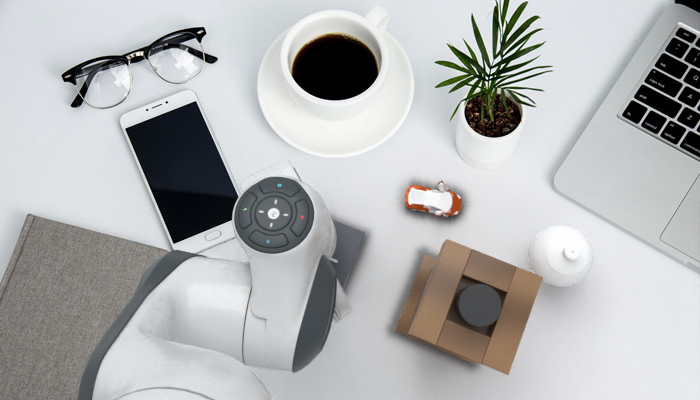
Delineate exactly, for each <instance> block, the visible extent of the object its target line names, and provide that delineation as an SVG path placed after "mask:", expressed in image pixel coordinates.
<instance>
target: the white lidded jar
mask: <svg viewBox="0 0 700 400" xmlns="http://www.w3.org/2000/svg"><path fill="white" fill-rule="evenodd" d="M528 259H529V264H530V267H531V268H532V270H533V273H534V274H537V275H539V276H542V277H543V279H542V282H544V283H546V284H548V285H551V286H554V287H560V288H561V287H570V286H574V285H576V284H578V283H580V282H581V281H583V280H584V279H585V278H586V277H587V276H588V275H589V273H590V272H591V270H592V267H593V264H594V250H593V247H592V245H591V242H590V240H589V239H588V238H587V236H586V235H585V234H584V233H583V232H581V231H580V230H579V229H577V228H575V227H573V226H570V225H565V224H564V225H563V224H556V225H550V226H548V227H546V228H544V229H542V230H540V231H539V232H538V233H537V234H536V235H535V237H534V238H533V240H532V241H531V243H530V246H529V250H528Z"/></svg>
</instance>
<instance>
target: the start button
mask: <svg viewBox="0 0 700 400" xmlns="http://www.w3.org/2000/svg"><path fill="white" fill-rule="evenodd" d="M501 308H502V304H501V299H500V297H499V295H498V293H497V292H496V291H495V290H494V289H493V288H491V287H490V286H488V285H485V284H474V285H470V286H467V287H465V288H464V289H462V290H461V291H460V292H459V293H458V295H457V297H456V300H455V311H456V314H457V316H458V317H459V318H460V320H461V321H463V322H464V323H465V324H467V325H470V326H475V327H485V326H489V325H491V324H492V323H494V322H495V321H496V320H497V319H498V317H499V315H500V313H501Z"/></svg>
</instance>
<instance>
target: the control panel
mask: <svg viewBox="0 0 700 400" xmlns="http://www.w3.org/2000/svg"><path fill="white" fill-rule="evenodd" d="M332 221H333V223H334V226H335V229H336V236H337V241H336V247H335V251H334V253H333V256H332V258H331V259H330V263H331V264H332V266H333V268H334V270H335V272H336V274H337V278H338V280H339V282H340V284H341V286H342V288H343V290H344V289H345V287H346V284H347V283H348V282H347V281H348V279H349V277H350V274H351V271H352V270H353V267H354V264H355V262H356V259H357V257H358V254H359V252H360V249H361V247H362V245H363V242H364V241H365V237H366V233H365V232H364V231H362V230H359V229H356V228H354V227H353V226H349V225H347V224H344V223H341V222H339V221H336V220H334V219H332Z"/></svg>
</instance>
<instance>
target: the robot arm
mask: <svg viewBox="0 0 700 400" xmlns="http://www.w3.org/2000/svg"><path fill="white" fill-rule="evenodd" d="M239 188H240V191H241V192H240V194H239V196H238V197H237V199H236V201H235V204H234V206H233V210H232V214H231V215H232V216H231V223H232V229H233V233H234V236H235V238H236V240H237V242H238V244H239V246H240V248H241V249H242V250H243V251H244V253H245V255H246V257H247V259H248V261H247V262H246V261H238V260H232V259H225V258H224V259H223V258H217V257H210V256H209V257H208V256H207V255H204V254H200V253H195V252H189V251H185V250H180V249H173V250H170V251H168V252H167V253H165V254H163V255H162V256H160V257H159V258H157V259H156V260H155V261H153V262H152V263H151V264H150V265H149V266H148V267H147V268H146V269H145V271H144V273H142V275H141V278H140V281H139V283H138V285H137V287H136V290H135V293H134V295H133V296H132V297H131V299H130V300H129V302H127V304H126V306H125V307H124V308H122V311H121V312H120V313H119V315H118V316H117V317H116V319H115V320H114V321H113V322H112V324H111V325H110V326H109V328H108V329H107V330H106V331H105V333H104V334H103V336H102V337H101V339H100V340H99V342H98V343H97V344H96V346H95V348H94V349H93V351H92V352H91V355H90V356H89V357H88V359H87V362H86V364H85V366H84V369H83V370H82V374H81V377H80V381H79V384H78V391H77V397H76V400H274V399H273V397H272V395H271V393H270V391H269V390H268V388H267V387H266V385H265V384H264V383H263V381H262V380H261V379H260V378H259V376H257V374H255V372H254V371H253V370H252V369H250V368H254V369H262V370H269V371H276V372H283V373H293V374H295V373H298V372H300V371H302V370H303V369H305V368H306V367H307V366H308V365H310V364H311V363H312V362H313V361H314V360H315V359H316V358H317V356H319V355H320V354H321V353H322V351H323V349H324V347H325V345H326V343H327V340H328V337H329V335H330V331H331V328H332V324H334V323H340V322H342V321H343V318H345V317H347V316H349V315H351V314H352V313H353V307H352V305H351V303H350V300H349V299H348V296H347V295H346V293H345V291H344V289H343V288H342V286H341V284H340V282H339V280H338V278H337V274H336V272H335V270H334V268H333V266H332V264H331V263H330V259H331V258H332V256H333V253H334V251H335V247H336V241H337V236H336V229H335V226H334V223H333V221H332V220H333V219H332V216H331V214H330V211H329V209H328V207H327V205H326V203H325V201H324V200H323V198H322V197H321V195H320V193H319V192H317V191H316V190H315V188H314V187H312V186H311V185H309V184H308V183H306V182H305V181H303V180H302V179H301V177H300V176H299V173H298V172H297V170H296V168H295V167H294V166H293V164H292V162H291V161H290V160H289V159H284V160H280V161H278V162H276V163H273V164H271V165H269V166H267V167H264V168H263V169H261V170H258V171H257V172H255V173H253V174H252V175H250V176H248V177H247V178H245V179H243V180H242V181H241V182H239Z"/></svg>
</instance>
